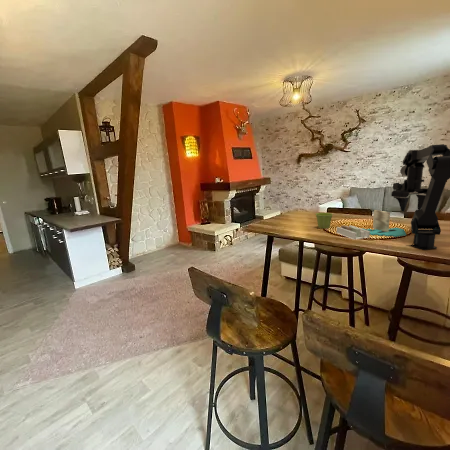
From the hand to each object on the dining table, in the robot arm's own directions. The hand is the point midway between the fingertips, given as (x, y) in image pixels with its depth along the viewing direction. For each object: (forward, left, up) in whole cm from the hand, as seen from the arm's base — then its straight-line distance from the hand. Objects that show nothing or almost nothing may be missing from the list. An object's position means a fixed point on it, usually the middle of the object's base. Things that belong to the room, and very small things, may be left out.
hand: (410, 210), depth 122 cm
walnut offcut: (+12, +26, -12) cm, 31 cm away
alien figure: (+9, +6, -14) cm, 18 cm away
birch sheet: (+10, +7, -11) cm, 17 cm away
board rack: (+10, +24, -13) cm, 29 cm away
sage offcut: (+8, +24, -12) cm, 28 cm away
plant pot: (+30, +27, -13) cm, 42 cm away
